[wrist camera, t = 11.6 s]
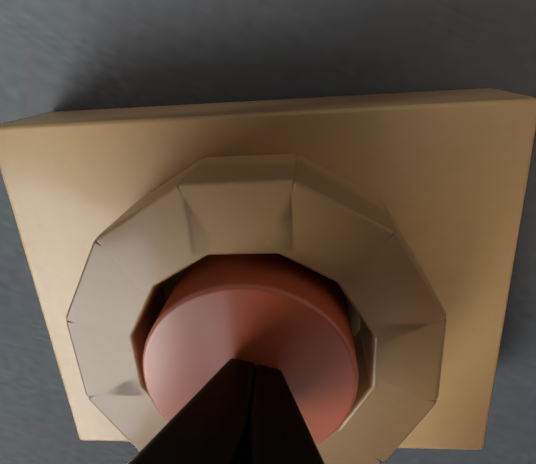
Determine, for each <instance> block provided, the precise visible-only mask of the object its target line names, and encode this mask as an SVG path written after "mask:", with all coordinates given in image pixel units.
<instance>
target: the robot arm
mask: <svg viewBox="0 0 536 464" xmlns="http://www.w3.org/2000/svg"><path fill="white" fill-rule="evenodd" d="M128 464H324V461H323V459H322V457H321V455H320V453H319V451H318V449H317V446H316V444H315V442H314V440H313V438H312V436H311V433H310V431H309V429H308V427H307V425H306V423H305V420H304V418H303V416H302V414H301V412H300V410H299V408H298V405H297V403H296V401H295V399H294V397H293V395H292V392H291V390H290V388H289V386H288V384H287V382H286V379H285V377H284V375H283V373H282V371H281V370H279V369H277V368H273V367H269V366H265V365H260V364H259V365H257V366H256V367H255V365H254V363H252V362H249V361H245V360H241V359H237V358H231V359H230V360H228V361H227V362H226V363H225V364H224V366H223V367H222V368H221V369H220V370H219V371H218V372H217V373H216V374H215V375H214V376H213V377H212V378H211V379H210V380H209V381H208V382H207V383H206V384H205V385H204V386H203V387H202V388H201V389H200V390H199V391H198V392H197V393H196V394H195V395H194V396H193V397H192V398H191V400H190V401H189V402H188V403H187V404H186V405H185V406H184V407H183V408H182V409H181V410H180V411H179V412H178V413H177V414H176V415H175V416H174V417H173V418H172V419H171V420H170V421H169V422H168V423H167V424H166V425H165V426H164V427H163V428H162V429H161V430H160V431H159V432H158V433H157V435H156V436H155V437H154V438H153V439H152V440H151V441H150V442H149V443H148V444H147V445H146V446H145V447H144V448H143V449H142V450H141V451H140V452H139V453H138V454H137V455H136V456H135V457H134V458H133V459H132V460H131V461H130V462H129V463H128Z"/></svg>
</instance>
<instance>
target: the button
mask: <svg viewBox="0 0 536 464" xmlns="http://www.w3.org/2000/svg"><path fill="white" fill-rule="evenodd" d="M231 358H237V359H241V360H245V361H249V362H252V363H254V365H255V367H256V366H257V365H259V364H260V365H265V366H269V367H273V368H277V369H279V370H281V371H282V373H283V375H284V377H285V379H286V382H287V384H288V386H289V388H290V390H291V392H292V395H293V397H294V399H295V401H296V403H297V405H298V408H299V410H300V412H301V414H302V416H303V418H304V420H305V423H306V425H307V427H308V429H309V431H310V433H311V436H312V438H313V440H314V442H315V444H316V445H318V444H319V443H321V442H322V441H324V440H325V439H327V438H328V437H329V436H330V435H331V434H333V433H334V432H335V431H336V430H337V429H338V428H339V427H340V425H341V424H342V423H343V422H344V420H345V419H346V417H347V416H348V414H349V412H350V410H351V408H352V406H353V404H354V401H355V398H356V394H357V391H358V381H359V375H358V364H357V357H356V351H355V345H354V338H353V332H352V326H351V319H350V313H349V308H348V304H347V301H346V298H345V296H344V293H343V291H342V290H341V288H340V286H339V284H338V283H337V282H336V281H333V280H331V279H329V278H327V277H325V276H323V275H321V274H319V273H317V272H315V271H313V270H311V269H309V268H307V267H305V266H303V265H301V264H299V263H297V262H295V261H293V260H291V259H289V258H287V257H285V256H282V255H280V254H278V253H272V254H221V255H207V256H205V257H203V258H202V259H200V260H198V261H197V262H195V263H193V264H192V265H190V266H189V267H188V268H187V269H186V270H185V272H184V273H183V274H182V275H181V277H180V279H179V280H178V282H177V284H176V286H175V287H174V289H173V291H172V293H171V295H170V296H169V298H168V300H167V302H166V303H165V305H164V307H163V309H162V311H161V312H160V314H159V316H158V318H157V319H156V321H155V323H154V325H153V327H152V328H151V330H150V332H149V334H148V337H147V340H146V342H145V346H144V351H143V374H144V381H145V384H146V388H147V391H148V393H149V395H150V398H151V400H152V402H153V403H154V405H155V407H156V408H157V410H158V411H159V412H160V414H161V415H162V416H163V417H164V419H165V420H166V421H167V422H169V421H170V420H171V419H172V418H173V417H174V416H175V415H176V414H177V413H178V412H179V411H180V410H181V409H182V408H183V407H184V406H185V405H186V404H187V403H188V402H189V401H190V400H191V398H192V397H193V396H194V395H195V394H196V393H197V392H198V391H199V390H200V389H201V388H202V387H203V386H204V385H205V384H206V383H207V382H208V381H209V380H210V379H211V378H212V377H213V376H214V375H215V374H216V373H217V372H218V371H219V370H220V369H221V368H222V367H223V366H224V364H225V363H226V362H227V361H228V360H230V359H231Z"/></svg>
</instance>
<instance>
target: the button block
mask: <svg viewBox="0 0 536 464" xmlns="http://www.w3.org/2000/svg"><path fill="white" fill-rule="evenodd" d="M535 130H536V98H535V97H530V96H526V95H521V94H516V93H511V92H507V91H502V90H497V89H493V88H479V89H461V90H443V91H425V92H407V93H388V94H370V95H352V96H334V97H315V98H297V99H279V100H261V101H242V102H224V103H206V104H188V105H169V106H151V107H133V108H115V109H96V110H78V111H60V112H48V113H44V114H40V115H36V116H32V117H27V118H23V119H19V120H15V121H11V122H7V123H3V124H0V169H1V173H2V176H3V180H4V183H5V186H6V190H7V193H8V197H9V200H10V203H11V207H12V210H13V214H14V217H15V220H16V224H17V227H18V231H19V234H20V237H21V241H22V244H23V248H24V251H25V254H26V258H27V261H28V265H29V268H30V271H31V275H32V278H33V282H34V285H35V288H36V292H37V295H38V299H39V302H40V305H41V309H42V312H43V316H44V319H45V322H46V326H47V329H48V333H49V336H50V339H51V343H52V346H53V350H54V353H55V356H56V360H57V363H58V367H59V370H60V373H61V377H62V380H63V384H64V387H65V390H66V394H67V397H68V401H69V404H70V407H71V411H72V414H73V418H74V421H75V424H76V428H77V431H78V435H79V438H80V439H81V440H85V441H127V442H131V443H132V444H133V445H134V446H135V447H136V448H137V449H138V451H139V452H140V451H141V450H142V449H143V448H144V447H145V446H146V445H147V444H148V443H149V442H150V441H151V440H152V439H153V438H154V437H155V436H156V435H157V433H158V432H159V431H160V430H161V429H162V428H163V427H164V426H165V425H166V424H167V423H168V422H167V421H166V420H165V419H164V417H163V416H162V415H161V414H160V412H159V411H158V410H157V408H156V407H155V405H154V403H153V402H152V400H151V398H150V395H149V393H148V391H147V388H146V384H145V381H144V374H143V351H144V346H145V342H146V340H147V337H148V334H149V332H150V330H151V328H152V327H153V325H154V323H155V321H156V319H157V318H158V316H159V314H160V312H161V311H162V309H163V307H164V305H165V303H166V302H167V300H168V298H169V296H170V295H171V293H172V291H173V289H174V287H175V286H176V284H177V282H178V280H179V279H180V277H181V275H182V274H183V273H184V272H185V270H186V269H187V268H188V267H189V266H190V265H192V264H193V263H195V262H197V261H198V260H200V259H202V258H203V257H205V256H207V255H221V254H272V253H278V254H280V255H282V256H285V257H287V258H289V259H291V260H293V261H295V262H297V263H299V264H301V265H303V266H305V267H307V268H309V269H311V270H313V271H315V272H317V273H319V274H321V275H323V276H325V277H327V278H329V279H331V280H333V281H336V282H337V283H338V284H339V286H340V288H341V290H342V291H343V293H344V296H345V298H346V301H347V304H348V308H349V313H350V319H351V326H352V332H353V338H354V345H355V351H356V357H357V364H358V375H359V381H358V391H357V394H356V398H355V401H354V404H353V406H352V408H351V410H350V412H349V414H348V416H347V417H346V419H345V420H344V422H343V423H342V424H341V425H340V427H339V428H338V429H337V430H336V431H335V432H334V433H333V434H331V435H330V436H329V437H328V438H327V439H325V440H324V441H322V442H321V443H319V444H318V445H316V446H317V449H318V451H319V453H320V455H321V457H322V459H323V461H324V464H380V463H382V461H386V460H387V459H388V458H389V457H390V456H391V455H392V453H393V452H394V451H395V450H396V449H397V448H425V449H467V450H481V449H483V447H484V441H485V435H486V429H487V422H488V416H489V410H490V404H491V398H492V392H493V386H494V380H495V374H496V368H497V361H498V355H499V349H500V343H501V337H502V331H503V325H504V319H505V313H506V307H507V301H508V294H509V288H510V282H511V276H512V270H513V264H514V258H515V252H516V246H517V240H518V234H519V227H520V221H521V215H522V209H523V203H524V197H525V191H526V185H527V179H528V173H529V166H530V160H531V154H532V148H533V142H534V136H535Z"/></svg>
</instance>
